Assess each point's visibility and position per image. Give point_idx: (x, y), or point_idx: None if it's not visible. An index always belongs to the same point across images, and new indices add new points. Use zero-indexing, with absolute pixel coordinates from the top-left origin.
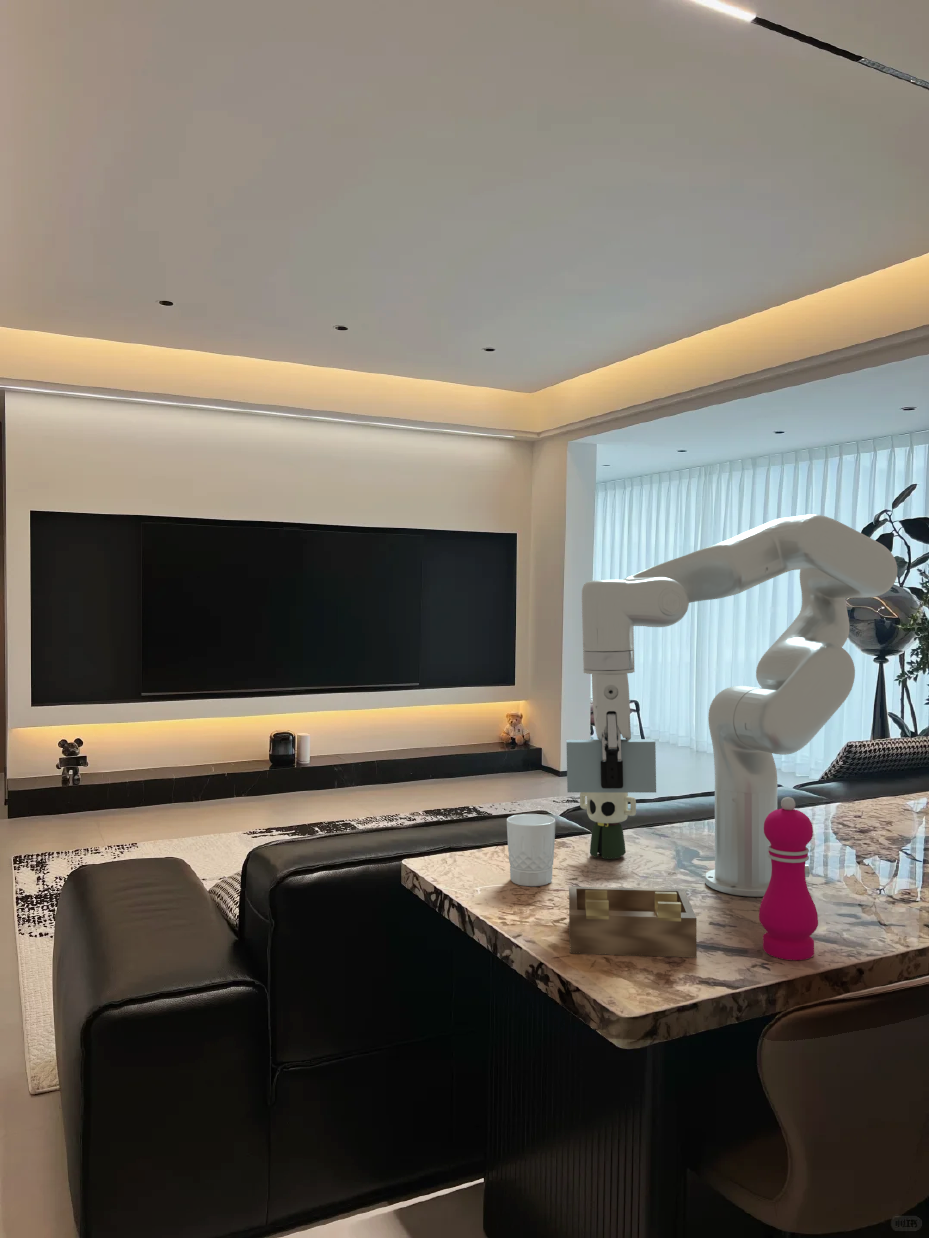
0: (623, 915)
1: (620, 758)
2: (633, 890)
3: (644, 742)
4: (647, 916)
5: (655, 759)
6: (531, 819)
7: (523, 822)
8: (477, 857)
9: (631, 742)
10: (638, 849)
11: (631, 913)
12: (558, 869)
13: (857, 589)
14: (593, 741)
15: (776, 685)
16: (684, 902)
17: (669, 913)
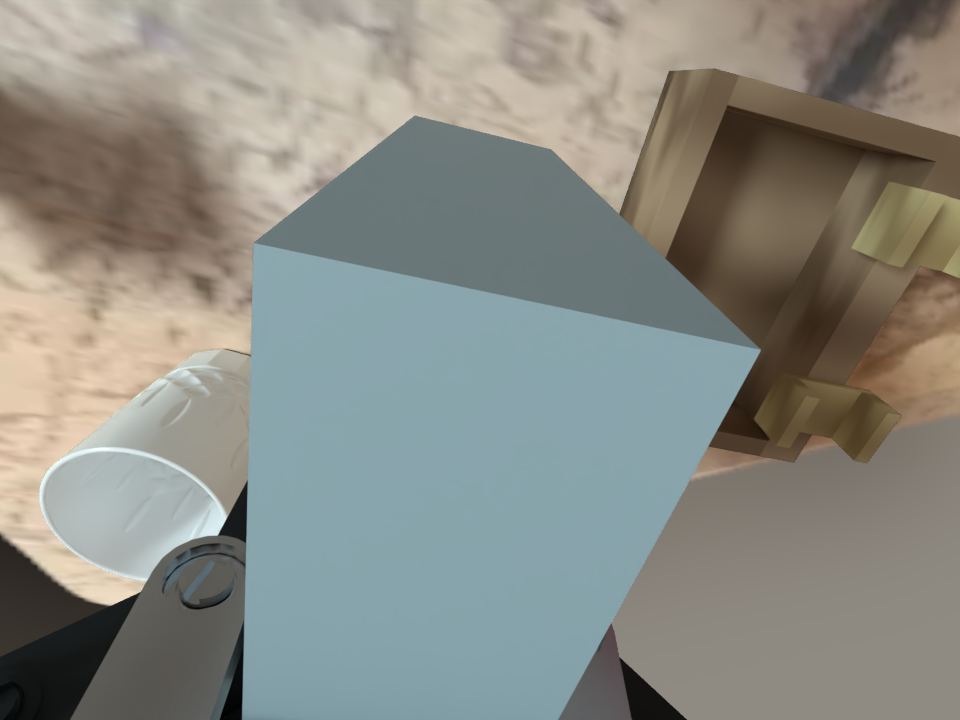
0: (860, 348)
1: (608, 631)
2: (665, 257)
3: (632, 553)
4: (901, 290)
5: (618, 220)
6: (61, 493)
7: (80, 509)
8: (28, 486)
9: (548, 713)
10: None
11: (857, 324)
12: (107, 309)
13: None
14: None
15: None
16: (847, 128)
17: None
